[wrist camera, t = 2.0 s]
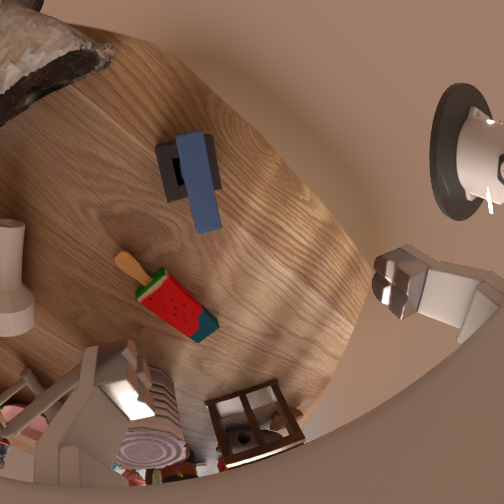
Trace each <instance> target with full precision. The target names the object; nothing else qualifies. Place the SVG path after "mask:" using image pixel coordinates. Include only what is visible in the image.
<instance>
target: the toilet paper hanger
mask: <svg viewBox="0 0 504 504" xmlns="http://www.w3.org/2000/svg"><path fill="white" fill-rule="evenodd" d="M81 365H82V362H80V363H79V364H78V365H77V366H75V367H74V368H73V369H72V370H71V371H69V372H68V373H67V374H66V375H64V376H63V377H62V378H61V379H59V380H58V381H57V382H56V383H55V384H53V385H52V386H51V387H50V388H48V389H44V388H42V386H41V385H40V384H39V382H38V380H37V378H36V377H35V375H34V374H33V372H32V371H31V369H30V368H27V369H25V370H23V371H22V373H21V377H22V378H21V379H20V380H18V381H17V382H16V383H15V384H13V385H12V386H11V387H10V388H8V389H7V390H6V391H5V392H3V393H2V394H1V395H0V405H2V404H3V403H4V402H5V401H7V400H8V399H9V398H10V397H11V396H13V395H14V394H15V393H16V392H18V391H19V390H20V389H21V388H23V387H24V386H25V385H26V384H27V386H28V387H30V389H31V390H32V391H33V393H34V394H35V400H34V401H33V402H32V403H30V404H29V405H28V406H27V407H26V408H24V409H23V410H22V411H21V412H20V413H18V414H17V415H16V416H15V417H14V418H13V419H11V420H10V421H9V422H7V423H6V425H7V427H6V428H3V426H2V425H1V422H0V436H2V437H3V438H10V437H11V436H12V435H13V434H14V435H15V436H18V434H19V433H20V432H21V431H22V430H23V429H24V428H26V427H27V426H28V425H29V424H30V423H31V422H33V421H34V420H35V419H36V418H37V417H39V416H40V415H41V414H42V413H44V414H45V416H46V422H47V424H48V425H49V424H50V422H51V421H52V420H53V418H54V417H55V415H56V414H57V413H58V411H59V410H60V408H61V407H62V406H63V404H61V403H60V402H59V399H60V398H61V397H62V396H63V395H65V394H66V393H67V392H68V391H69V390H71V389H72V388H73V387H74V386H75V385H77V384H78V383H79V378H80V371H81Z"/></svg>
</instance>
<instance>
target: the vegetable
mask: <svg viewBox="0 0 504 504" xmlns="http://www.w3.org/2000/svg"><path fill="white" fill-rule="evenodd" d="M184 442H185V440H184ZM189 455H190V448H189V446H188V444H187V443H186V456H185V458H184V459H182V460H180V461H178V462H176V463H173V466H174V468H175V470H176V472H177V474H178V476H179V475H180V476H181V477H183V475H182V471H181V469H180V463H181V462H183V461H185V460H186V459H187V458H188V457H189Z"/></svg>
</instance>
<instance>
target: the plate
mask: <svg viewBox="0 0 504 504" xmlns="http://www.w3.org/2000/svg"><path fill="white" fill-rule="evenodd" d="M27 406H28V405H25V404H20V403H14V404H9V405H5V406H3V410H1V413H2V416H3V418H4V419H5V420H6V421H7V422H9V421H10V420H11V419H13V418H14V417H15V416H16V415H17V414H18V413H20V412H21V411H22V410H23V409H24V408H26V407H27ZM47 427H48V424H47V422H46V416H45V414H44V413H42V414H41V415H40V416H39V417H37V418H36V419H35V420H34V421H33V422H31V423H30V424H29V425H28V426H27V427H26V428H24V429H23V430H22V431H21V432H20V433H22V434H23V435H25V436H27V437H29V438H32V439H34V440H37V441H38V440H39V438H40V437H41V436H42V434H43V433H44V431H45V430H46V428H47Z"/></svg>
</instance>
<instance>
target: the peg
mask: <svg viewBox="0 0 504 504" xmlns="http://www.w3.org/2000/svg"><path fill="white" fill-rule="evenodd" d="M175 138H176V143H177V148H178V153H179V157H178V158H177V162H178V166H179V171H180V173H181V176H182V178H183V180H184V183H185V186H186V190H187V195H188V199H189V203H190V208H191V212H192V216H193V220H194V225H195V228H196V231H197V233H198V235H200V234H203V233H207V232H211V231H214V230H218V229H221V228H222V227H221V222H220V217H219V212H218V207H217V202H216V197H215V192H214V186H213V181H212V176H211V171H210V166H209V160H208V155H207V149H206V144H205V138H204V133H203V130H197V131H192V132H188V133H184V134H179V135H176V136H175Z"/></svg>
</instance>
